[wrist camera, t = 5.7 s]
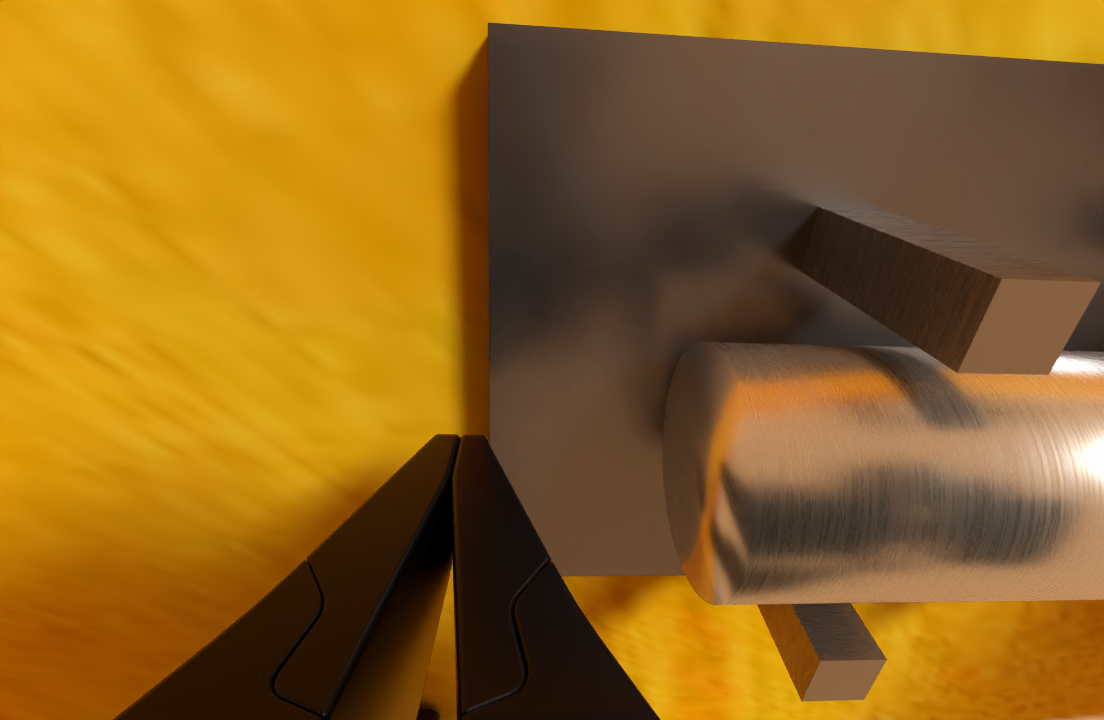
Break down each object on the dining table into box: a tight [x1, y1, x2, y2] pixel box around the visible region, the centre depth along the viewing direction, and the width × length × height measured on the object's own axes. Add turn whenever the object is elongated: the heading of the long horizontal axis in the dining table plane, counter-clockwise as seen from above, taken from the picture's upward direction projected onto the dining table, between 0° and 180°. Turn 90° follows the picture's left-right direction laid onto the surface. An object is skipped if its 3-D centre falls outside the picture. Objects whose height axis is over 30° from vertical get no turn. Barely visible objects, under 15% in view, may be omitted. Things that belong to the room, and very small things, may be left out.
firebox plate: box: [488, 23, 1104, 701], centre depth 10 cm, size 12×20×5 cm, turn 87°
